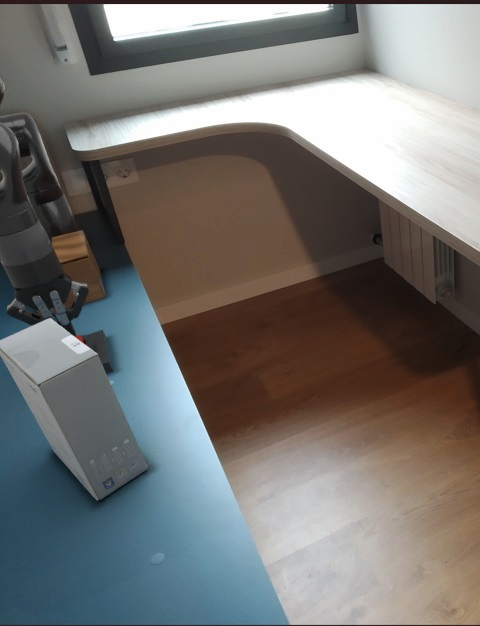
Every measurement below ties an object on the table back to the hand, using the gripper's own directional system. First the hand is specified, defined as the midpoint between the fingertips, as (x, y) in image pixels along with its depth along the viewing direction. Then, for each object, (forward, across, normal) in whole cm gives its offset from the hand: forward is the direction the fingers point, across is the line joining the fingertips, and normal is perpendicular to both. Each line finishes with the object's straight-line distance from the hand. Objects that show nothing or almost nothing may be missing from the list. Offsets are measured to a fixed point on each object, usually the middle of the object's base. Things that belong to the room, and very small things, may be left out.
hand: (69, 341), depth 107 cm
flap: (-5, -3, -31) cm, 32 cm away
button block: (+5, 0, 0) cm, 5 cm away
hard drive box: (+5, -1, +28) cm, 28 cm away
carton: (+5, 0, -31) cm, 32 cm away
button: (+2, 0, 0) cm, 2 cm away
